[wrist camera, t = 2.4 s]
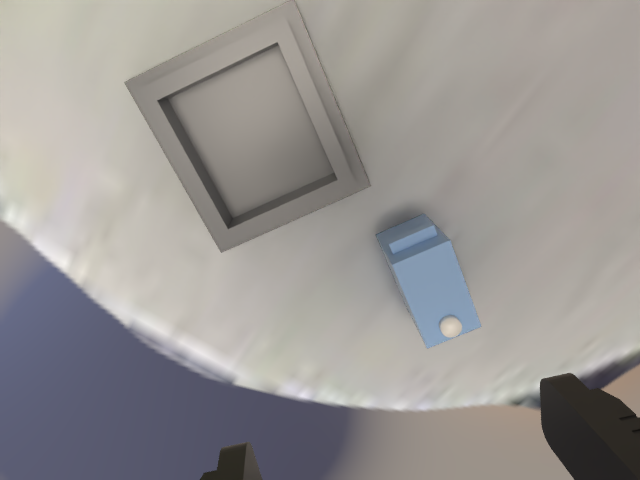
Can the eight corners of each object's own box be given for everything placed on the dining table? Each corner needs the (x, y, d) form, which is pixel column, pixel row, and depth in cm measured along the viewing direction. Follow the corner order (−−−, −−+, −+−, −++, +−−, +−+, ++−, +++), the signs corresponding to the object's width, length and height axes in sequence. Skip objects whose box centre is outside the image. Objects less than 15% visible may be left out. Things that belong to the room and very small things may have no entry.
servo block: (420, 204, 34) (449, 232, 28) (454, 296, 37) (488, 340, 30) (371, 225, 34) (389, 258, 28) (409, 314, 37) (433, 362, 31)
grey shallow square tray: (293, 1, 28) (293, -9, 25) (368, 183, 33) (377, 194, 30) (129, 82, 30) (109, 82, 26) (223, 248, 34) (215, 266, 31)
